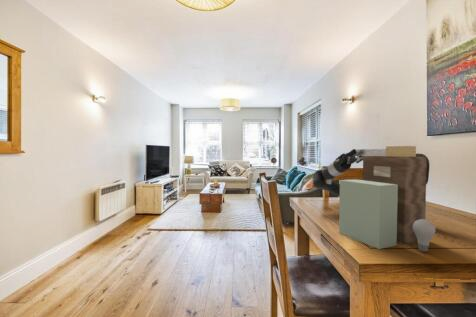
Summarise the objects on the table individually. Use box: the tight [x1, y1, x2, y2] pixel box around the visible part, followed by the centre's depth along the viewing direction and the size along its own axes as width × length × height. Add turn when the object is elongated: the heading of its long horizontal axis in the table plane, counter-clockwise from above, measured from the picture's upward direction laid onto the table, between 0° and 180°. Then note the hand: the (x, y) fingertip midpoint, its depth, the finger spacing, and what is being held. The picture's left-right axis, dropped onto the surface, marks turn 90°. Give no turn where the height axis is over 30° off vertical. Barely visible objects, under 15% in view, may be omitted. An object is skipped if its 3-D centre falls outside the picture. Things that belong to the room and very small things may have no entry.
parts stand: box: [362, 156, 428, 245], centre depth 97 cm, size 12×18×32 cm
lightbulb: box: [412, 219, 436, 253], centre depth 80 cm, size 6×6×11 cm
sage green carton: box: [338, 178, 398, 250], centre depth 92 cm, size 9×18×22 cm, turn 22°
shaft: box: [354, 145, 417, 157], centre depth 102 cm, size 6×25×4 cm, turn 22°
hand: (362, 150), depth 110 cm, fingers open, 8 cm apart
